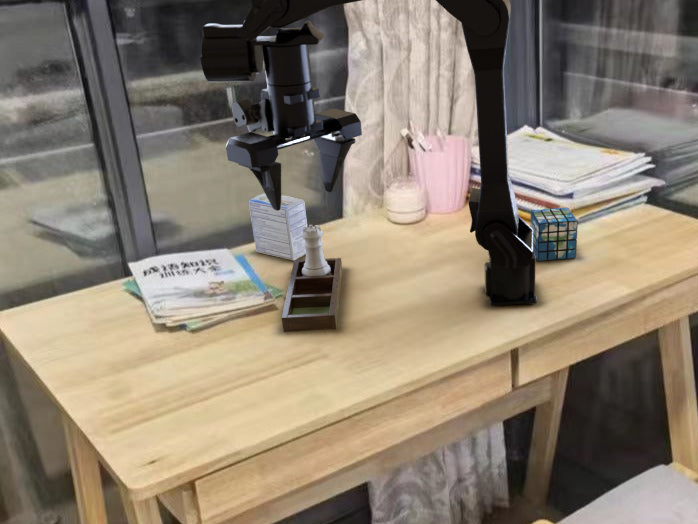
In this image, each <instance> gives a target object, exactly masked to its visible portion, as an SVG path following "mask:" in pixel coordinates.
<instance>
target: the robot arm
mask: <svg viewBox="0 0 698 524" xmlns="http://www.w3.org/2000/svg"><path fill="white" fill-rule="evenodd" d="M250 1H251V9H250V11H249V13H248V15H247V17H246V18H245V20H243V24H220V23H207V24H205V25H203V26H202V28H201V30H202V36H203V37H202V40H201V56H200V65H201V70H202V74H203V76H204V78H205V80H206V81H207V82H208V83H251V82H255V80H256V76H257V74H262V72H263V70H264V72H265V80H266V85H267V86H266V88H263V89H261V93H260V98H261V101H260V102H257V103H253V104H252V101H251V100H250V99H249V98H245V99H240V100H237V101H234V102H233V103H231V109H232V117H233V120H234V123H235V126H236V127H238V128H239V129H240V128H244V127H247V130H248V132H246V133H242V134H238V135H235V136H231V137H229V138H228V140H227V142H226V145H225V151H226V158H227V161H229V162H232V163H236V164H238V165H239V166H241V167H244V168H247V169H249V170H250V172H251V173H253V175H254V177H255V178H256V180H257V181H258V183H259V185H260V187H261V188H262V191H263V192H264V193H265V194H266V196H267V198H268V200H269V202H270V204H271V206H272V208H273V209H274V210H277V211H279V210H280V208H281V195H282V163H281V162H278V161H276V160H277V158H278V156H279V150H283V149H287V148H289V147H292V146H295V145H299V144H301V143H302V144H303V143H306V142H309V141H312V140H313V141H314V143H315V145H316V146H317V148H318V150H319V156H320V166H321V175H322V181H323V182H322V183H323V187H324V191H325V192H327V193H333V192H334V191H333V190H334V189H335V185H336V182H337V180H338V177H339V175H340V172H341V169H342V167H343V164H344V162H345V160H346V158H347V156H348V153H349V151H350V149H351V147H352V145H355V144H356V138H357V137H360V136H363V130H362V121H361V118H359V116H358V115H357V114H356V113H355V112H351V111H346V110H342V109H338V108H331V109H327V110H324V111H320V112H316V107H315V99H318V98H320V97H321V93H320V88H317V87H314V86H313V77H312V68H311V57H310V50H309V49H310V48H309V46H311V45H312V46H315V45H319V44H320V42H321V41H323V39H324V37H325V35H324V33H322V32H321V31H320V30H319V29H317V28H316V27H315V26H314V25H313V23H312V22H311V20H307V21H305V22H304V23H303V24H302V26H301V27H287V26H289V25H292V24H294V23H296V22H299V21H302V20H304V19H306V18H308V17H310V16H313V15H315V14H317V13H319V12H321V11H324V10H326V9H329V8H331V7H335V6H341V5H346V4H351V3H356V2H361V1H362V2H363V0H250ZM435 2H436V3H438V4H439V5H440V6H441V7H442V8H443V9H444V10H445V11H446V12H447V13H449V14H450V15H451V16H452V17H453V18H455V19H456V20H457V21H458V22H460V24H461V28H462V33H463V37H464V41H465V47H466V50H467V54H468V57H469V60H470V63H471V66H472V70H473V75H474V87H475V90H474V91H475V105H476V122H477V138H478V157H479V171H480V172H479V173H480V187H479V188H477V187H471V189H470V193H469V198H468V204H467V205H468V208H469V212H470V217H471V222H470V228H469V233H470V234H472V233H474V236H475V240H476V242H477V244H478V245H479V246H480V247H482V248H483V249H484V250H486V251H487V253H488V255H487V256H488V261H485V262H484V264H483V265H484V266H483V267H484V273H483V274H484V275H483V276H484V277H483V278H484V293H485V296H486V297H488V300H489V304H490V305H491V306H511V305H512V306H513V305H530V304H531V305H532V304H537V303H538V298H537V295H536V266H537V265H536V263H537V262H536V260H537V258H536V256H535V254H534V251H533V229H532V228H531V227H530V225H529V224H528V223H527V222H526V221H525V220H524V218H522V217H521V216H520V212H519V208H518V203H517V199H516V194H515V190H514V187H513V183H512V180H511V177H510V172H509V150H508V148H509V147H508V130H507V129H508V128H507V125H508V124H507V103H506V81H505V79H506V78H505V63H506V62H505V61H506V56H507V55H506V53H507V46H508V40H509V39H508V37H509V29H510V21H511V14H512V13H511V12H512V5H511V1H510V0H435ZM284 27H285V28H284ZM269 28H278V30H277V31H276V34H275V35H267V36H266V35H262V34H263V33H264V32H266V31H267V30H268V29H269ZM263 67H264V69H263ZM260 129H261V130H262V131H263V132H264V133H265V132H266V133H270V132H271V133H273V134H271V135H268V136H267V135H263V134H259V133H256V132H257V130H260Z"/></svg>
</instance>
